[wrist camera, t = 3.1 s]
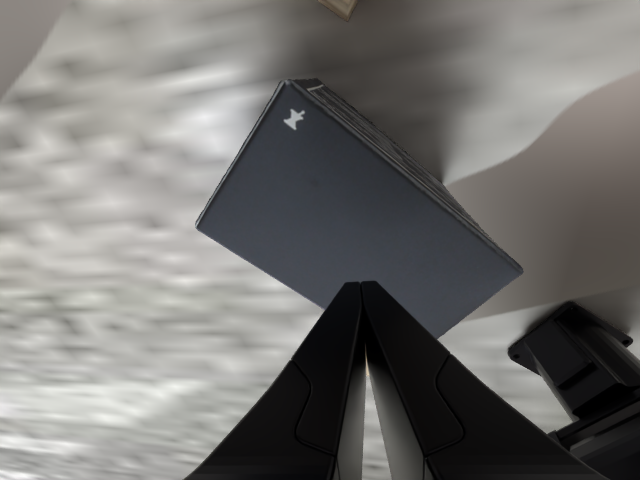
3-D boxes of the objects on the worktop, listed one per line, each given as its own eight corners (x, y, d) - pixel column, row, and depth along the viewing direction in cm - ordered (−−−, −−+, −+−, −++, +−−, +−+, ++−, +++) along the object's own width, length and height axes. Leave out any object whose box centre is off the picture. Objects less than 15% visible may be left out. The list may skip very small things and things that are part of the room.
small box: (254, 164, 20) (180, 232, 11) (313, 73, 18) (283, 60, 9) (378, 254, 23) (404, 372, 13) (446, 184, 20) (537, 269, 11)
